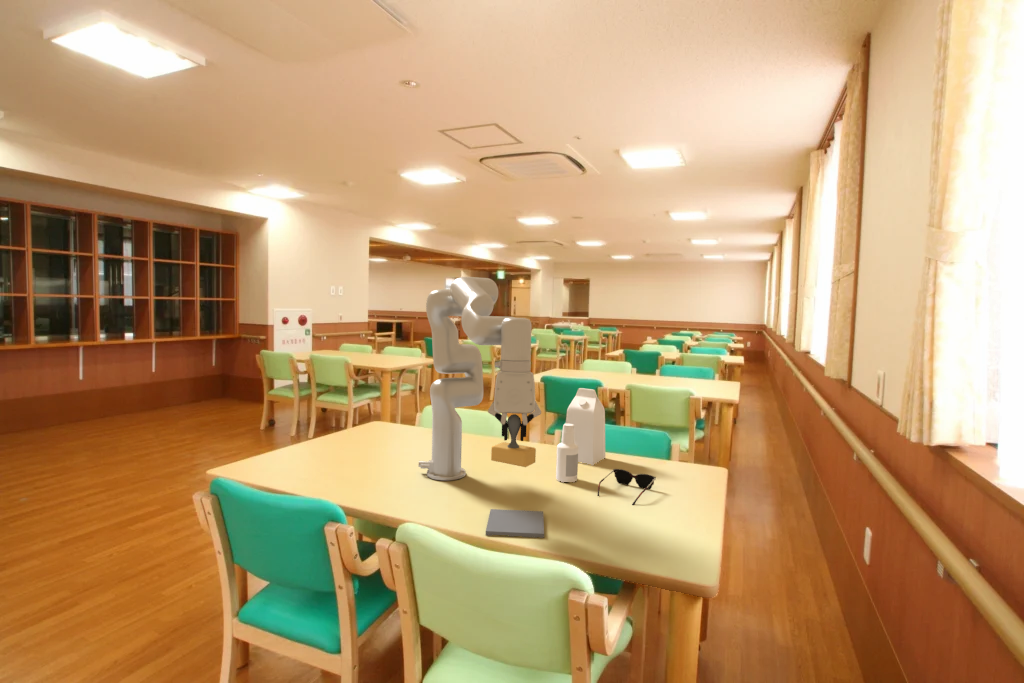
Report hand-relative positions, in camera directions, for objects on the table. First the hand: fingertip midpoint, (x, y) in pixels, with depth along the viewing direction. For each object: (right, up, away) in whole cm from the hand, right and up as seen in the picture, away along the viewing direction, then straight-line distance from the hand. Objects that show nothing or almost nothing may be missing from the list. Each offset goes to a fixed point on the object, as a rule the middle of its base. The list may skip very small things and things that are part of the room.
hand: (513, 438), depth 132 cm
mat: (0, -22, 0) cm, 22 cm away
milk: (+26, -19, +61) cm, 69 cm away
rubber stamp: (0, -6, 0) cm, 6 cm away
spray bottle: (+17, -20, +36) cm, 45 cm away
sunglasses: (+33, -22, +26) cm, 47 cm away
